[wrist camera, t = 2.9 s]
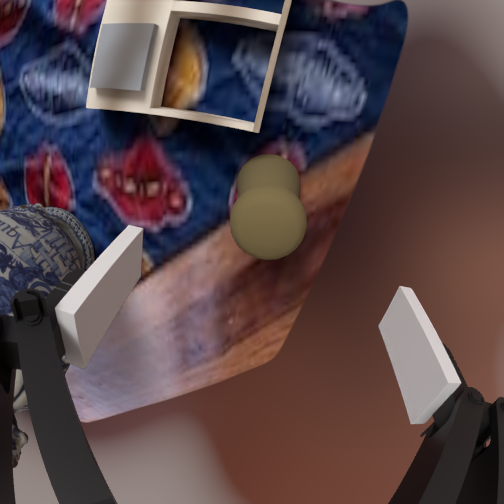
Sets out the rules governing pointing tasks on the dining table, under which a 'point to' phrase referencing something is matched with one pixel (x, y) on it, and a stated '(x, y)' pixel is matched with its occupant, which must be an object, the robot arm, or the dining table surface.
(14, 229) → the decorative vase
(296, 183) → the cork
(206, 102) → the dining table surface
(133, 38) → the socket board
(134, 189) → the dining table surface
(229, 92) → the dining table surface
